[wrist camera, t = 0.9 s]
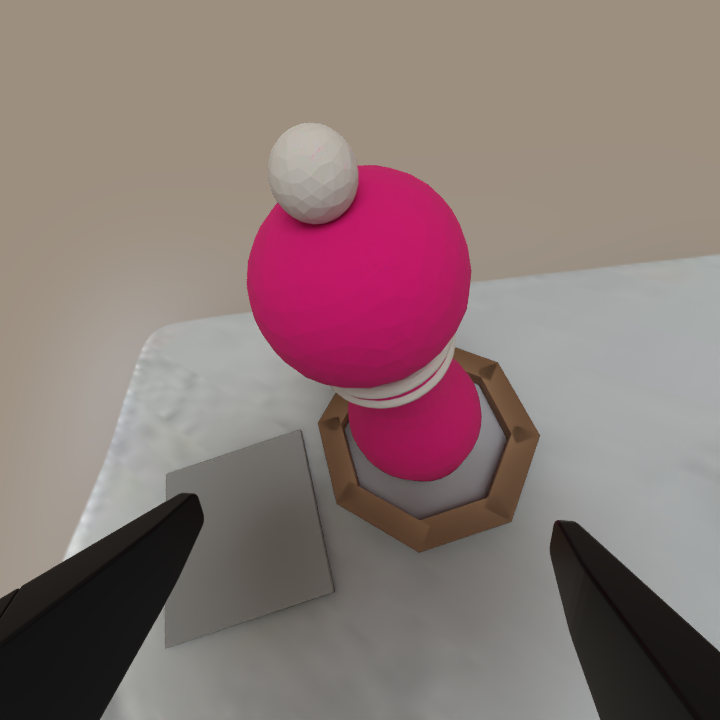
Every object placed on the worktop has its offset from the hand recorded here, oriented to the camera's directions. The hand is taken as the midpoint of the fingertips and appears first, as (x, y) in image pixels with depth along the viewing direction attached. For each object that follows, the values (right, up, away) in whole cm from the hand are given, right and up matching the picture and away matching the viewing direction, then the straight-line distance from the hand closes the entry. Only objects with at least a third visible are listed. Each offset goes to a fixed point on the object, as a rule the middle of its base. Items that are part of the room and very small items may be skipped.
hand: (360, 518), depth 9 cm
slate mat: (-8, -7, +14) cm, 17 cm away
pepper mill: (+4, -1, +15) cm, 15 cm away
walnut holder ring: (+4, -1, +15) cm, 15 cm away
